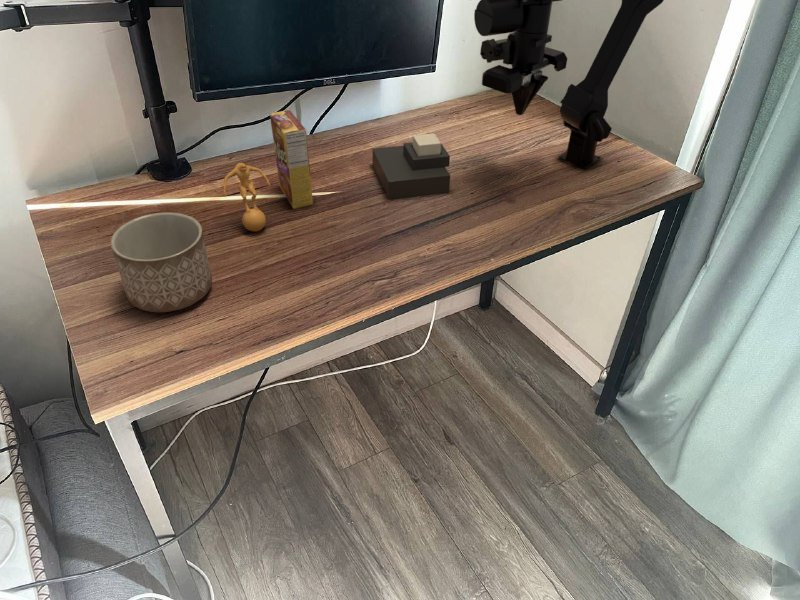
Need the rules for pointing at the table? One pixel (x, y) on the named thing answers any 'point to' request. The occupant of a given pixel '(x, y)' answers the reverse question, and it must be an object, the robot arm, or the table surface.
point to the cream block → (426, 145)
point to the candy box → (292, 158)
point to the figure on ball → (251, 217)
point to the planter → (162, 261)
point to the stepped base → (411, 171)
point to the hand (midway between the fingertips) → (519, 114)
